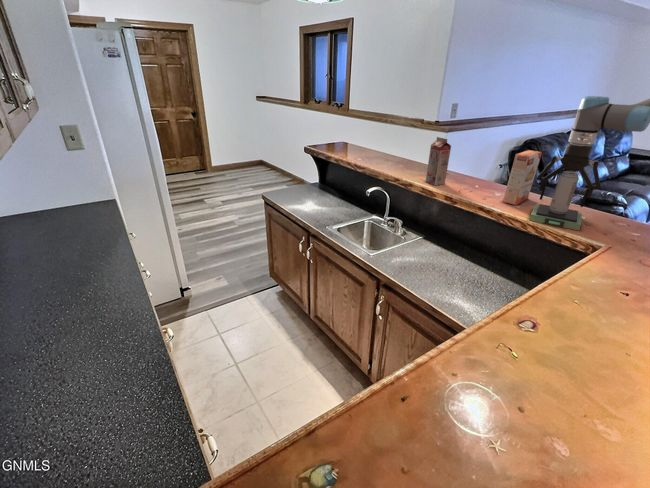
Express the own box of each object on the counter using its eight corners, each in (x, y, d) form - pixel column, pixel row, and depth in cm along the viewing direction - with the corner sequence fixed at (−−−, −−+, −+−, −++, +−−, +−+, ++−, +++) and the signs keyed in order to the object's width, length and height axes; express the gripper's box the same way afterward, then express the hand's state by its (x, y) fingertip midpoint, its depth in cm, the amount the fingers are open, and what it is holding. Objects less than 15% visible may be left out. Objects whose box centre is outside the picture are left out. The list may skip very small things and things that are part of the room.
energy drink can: (550, 207, 137) (562, 169, 130) (568, 211, 133) (581, 172, 126) (546, 211, 133) (559, 173, 126) (565, 215, 129) (579, 176, 122)
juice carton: (434, 185, 172) (442, 139, 162) (425, 181, 178) (432, 137, 168) (444, 183, 175) (452, 138, 165) (435, 180, 180) (442, 136, 170)
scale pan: (577, 212, 134) (578, 210, 134) (576, 222, 126) (577, 220, 125) (539, 205, 141) (540, 203, 141) (535, 214, 132) (536, 212, 132)
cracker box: (516, 206, 147) (530, 156, 138) (502, 202, 151) (514, 153, 142) (529, 199, 156) (542, 151, 146) (515, 195, 160) (527, 149, 150)
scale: (580, 218, 135) (582, 212, 134) (578, 231, 124) (581, 225, 123) (533, 209, 144) (535, 204, 142) (528, 221, 132) (530, 215, 131)
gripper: (539, 141, 125) (523, 198, 135) (625, 150, 113) (600, 212, 122) (541, 138, 131) (525, 193, 140) (623, 146, 118) (600, 206, 128)
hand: (560, 202), depth 131 cm, fingers open, 12 cm apart
